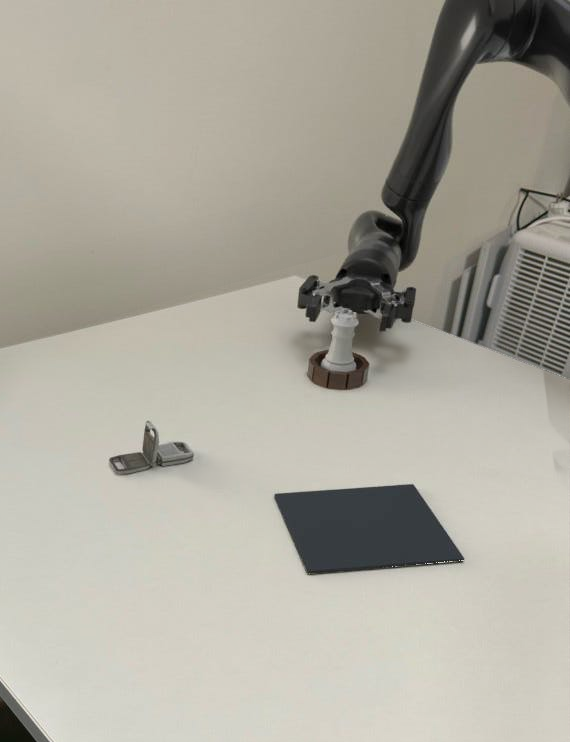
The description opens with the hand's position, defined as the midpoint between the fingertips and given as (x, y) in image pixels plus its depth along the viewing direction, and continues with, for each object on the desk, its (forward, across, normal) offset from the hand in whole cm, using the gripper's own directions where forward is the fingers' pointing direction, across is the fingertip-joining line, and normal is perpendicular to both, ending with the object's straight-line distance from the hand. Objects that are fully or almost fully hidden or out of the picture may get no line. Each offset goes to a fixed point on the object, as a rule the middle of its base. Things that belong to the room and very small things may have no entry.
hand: (347, 319), depth 99 cm
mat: (+33, +8, +6) cm, 35 cm away
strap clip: (+29, -14, +7) cm, 33 cm away
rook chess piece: (+2, 0, +7) cm, 7 cm away
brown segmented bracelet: (+2, 0, +6) cm, 7 cm away
